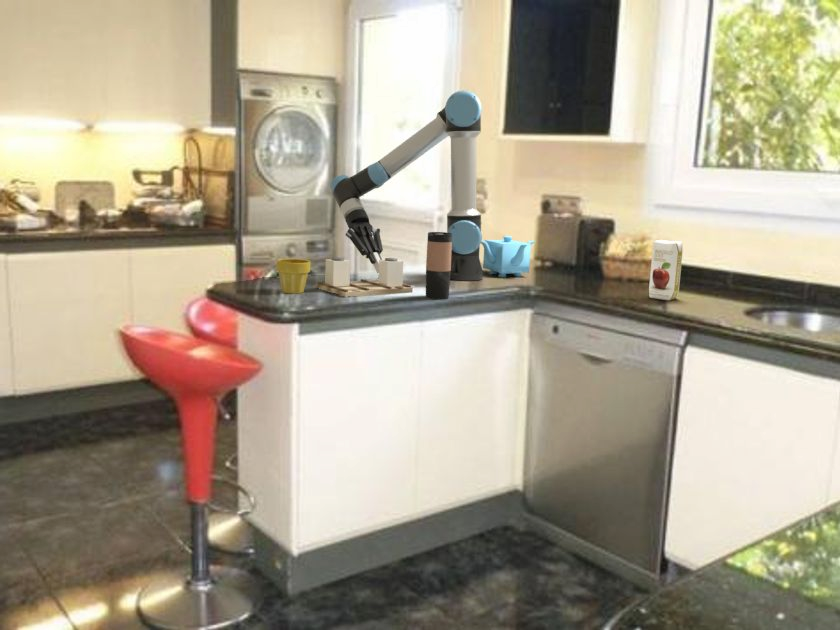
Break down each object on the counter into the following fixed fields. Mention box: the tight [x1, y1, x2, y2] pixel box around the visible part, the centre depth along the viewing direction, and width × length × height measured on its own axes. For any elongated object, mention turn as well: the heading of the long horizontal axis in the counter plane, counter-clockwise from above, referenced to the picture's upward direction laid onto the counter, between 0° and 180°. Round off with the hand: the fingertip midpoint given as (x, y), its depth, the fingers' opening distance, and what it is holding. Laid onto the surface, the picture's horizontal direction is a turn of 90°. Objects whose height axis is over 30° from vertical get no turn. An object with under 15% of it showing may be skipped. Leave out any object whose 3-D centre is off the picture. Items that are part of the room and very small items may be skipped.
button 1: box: [324, 256, 351, 287], centre depth 264 cm, size 5×6×9 cm
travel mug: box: [425, 231, 452, 300], centre depth 258 cm, size 8×8×20 cm
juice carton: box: [648, 239, 684, 301], centre depth 275 cm, size 8×9×19 cm
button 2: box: [377, 257, 404, 287], centre depth 269 cm, size 5×6×9 cm
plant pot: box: [276, 258, 311, 294], centre depth 258 cm, size 10×10×10 cm
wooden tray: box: [315, 278, 414, 298], centre depth 267 cm, size 18×25×2 cm
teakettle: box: [480, 235, 537, 278], centre depth 314 cm, size 19×19×15 cm
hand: (380, 270), depth 273 cm, fingers closed
